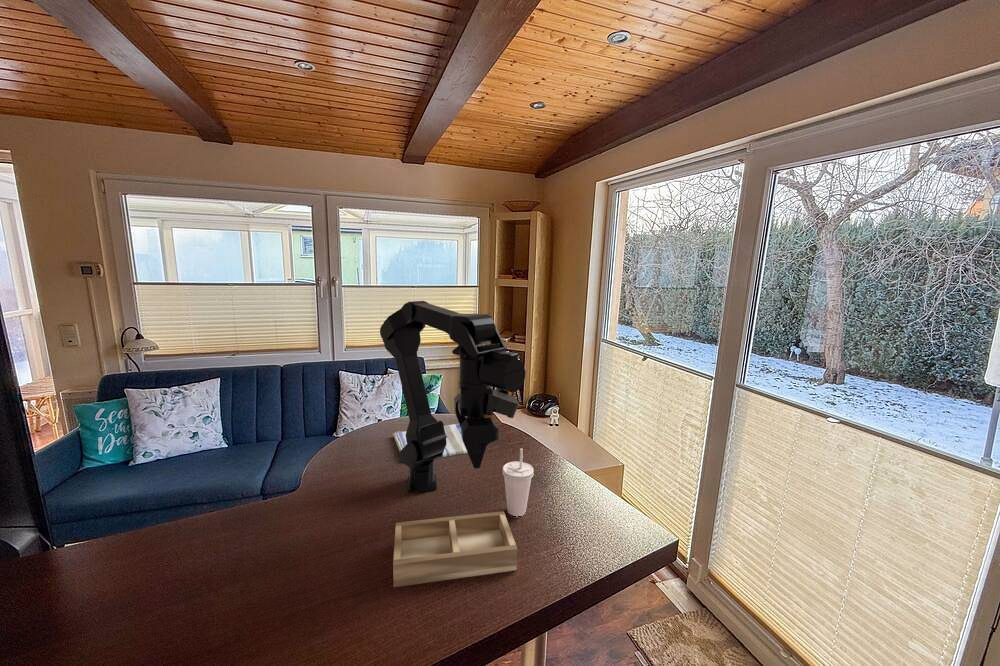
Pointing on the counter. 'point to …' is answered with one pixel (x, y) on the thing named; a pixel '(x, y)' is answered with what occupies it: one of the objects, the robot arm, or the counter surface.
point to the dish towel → (453, 440)
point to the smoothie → (517, 485)
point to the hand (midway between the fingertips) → (473, 456)
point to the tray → (452, 548)
